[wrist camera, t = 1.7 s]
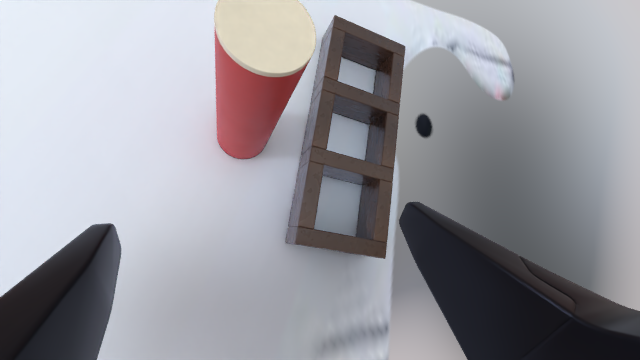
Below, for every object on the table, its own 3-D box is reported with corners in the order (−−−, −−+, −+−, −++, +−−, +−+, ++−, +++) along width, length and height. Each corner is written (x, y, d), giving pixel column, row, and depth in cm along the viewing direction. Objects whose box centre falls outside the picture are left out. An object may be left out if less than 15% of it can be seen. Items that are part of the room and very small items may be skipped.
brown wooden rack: (366, 255, 24) (385, 258, 21) (284, 242, 21) (294, 243, 19) (387, 64, 28) (405, 45, 26) (322, 37, 26) (334, 14, 23)
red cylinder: (274, 147, 23) (332, 57, 11) (231, 167, 21) (246, 86, 10) (252, 106, 23) (287, -27, 11) (207, 123, 21) (194, -10, 10)
